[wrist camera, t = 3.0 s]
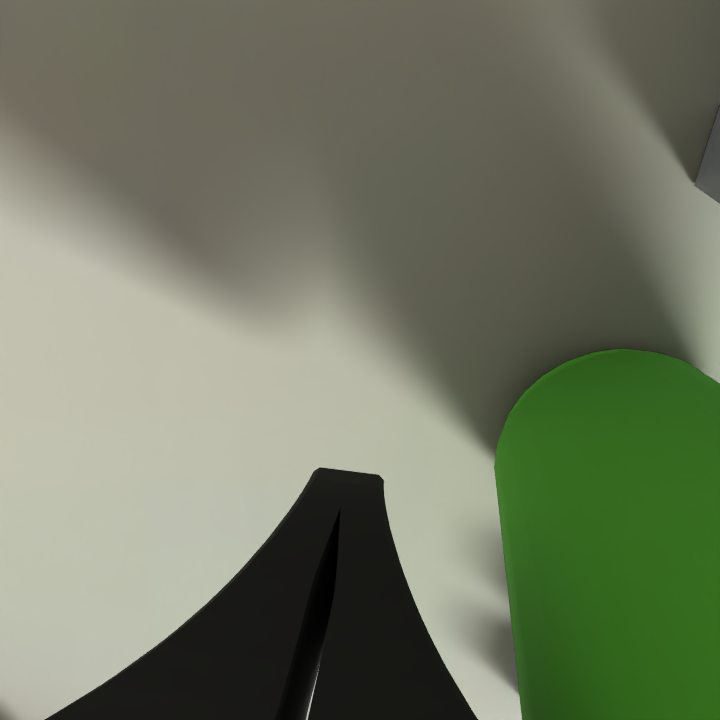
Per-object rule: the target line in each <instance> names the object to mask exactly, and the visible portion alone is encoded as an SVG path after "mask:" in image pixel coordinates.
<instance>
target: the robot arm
mask: <svg viewBox="0 0 720 720" xmlns="http://www.w3.org/2000/svg"><path fill="white" fill-rule="evenodd" d="M319 665H320V666H319ZM318 669H319V671H318ZM317 673H318V676H317ZM316 677H317V680H316ZM315 680H316V685H315V689H314V694H313V698H312V703H311V708H310V712H309V717H308V720H478V719H477V717H476V716H475V714H474V713H473V711H472V710H471V708H470V706H469V705H468V703H467V701H466V700H465V698H464V696H463V695H462V693H461V691H460V690H459V688H458V686H457V685H456V683H455V681H454V680H453V678H452V676H451V674H450V673H449V671H448V669H447V668H446V666H445V664H444V662H443V660H442V658H441V656H440V655H439V653H438V651H437V649H436V647H435V645H434V643H433V641H432V639H431V637H430V635H429V633H428V631H427V628H426V626H425V624H424V622H423V620H422V618H421V615H420V613H419V611H418V609H417V606H416V604H415V601H414V599H413V597H412V594H411V591H410V589H409V586H408V583H407V581H406V578H405V575H404V573H403V570H402V567H401V564H400V561H399V557H398V554H397V551H396V547H395V544H394V541H393V537H392V534H391V530H390V526H389V521H388V516H387V512H386V506H385V499H384V480H383V479H382V478H381V477H380V476H379V475H376V474H368V473H360V472H352V471H344V470H336V469H328V468H318V469H317V470H315V471H314V472H313V474H312V476H311V478H310V480H309V481H308V483H307V485H306V486H305V488H304V490H303V491H302V493H301V494H300V496H299V497H298V499H297V500H296V502H295V503H294V505H293V506H292V508H291V509H290V510H289V512H288V513H287V515H286V516H285V517H284V518H283V520H282V521H281V522H280V524H279V525H278V526H277V528H276V529H275V530H274V531H273V533H272V534H271V535H270V537H269V538H268V539H267V540H266V542H265V543H264V544H263V545H262V546H261V547H260V548H259V550H258V551H257V552H256V553H255V554H254V555H253V556H252V558H251V559H250V560H249V561H248V562H247V563H246V564H245V566H244V567H243V568H242V569H241V570H240V571H239V572H238V573H237V574H236V575H235V576H234V577H233V578H232V579H231V580H230V581H229V583H228V584H226V585H225V586H224V587H223V588H222V589H221V590H220V591H219V592H218V593H217V594H216V595H215V596H214V597H213V598H212V599H211V600H210V601H209V602H208V603H207V604H206V605H205V606H203V607H202V608H201V609H200V610H199V611H198V612H197V613H195V614H194V615H193V616H192V617H191V618H190V619H189V620H187V621H186V622H185V623H184V624H183V625H182V626H180V627H179V628H178V629H177V630H176V631H174V632H173V633H172V634H171V635H170V636H168V637H167V638H166V639H165V640H163V641H162V642H161V643H159V644H158V645H157V646H155V647H154V648H153V649H151V650H150V651H149V652H147V653H146V654H144V655H143V656H142V657H140V658H139V659H138V660H136V661H135V662H133V663H132V664H131V665H129V666H128V667H127V668H125V669H124V670H122V671H121V672H120V673H118V674H117V675H115V676H114V677H112V678H111V679H109V680H108V681H107V682H105V683H104V684H102V685H100V686H99V687H97V688H96V689H94V690H92V691H91V692H89V693H87V694H86V695H84V696H83V697H81V698H79V699H78V700H76V701H75V702H73V703H71V704H70V705H68V706H66V707H65V708H63V709H62V710H60V711H58V712H57V713H55V714H53V715H52V716H50V717H48V718H47V719H45V720H306V716H307V712H308V707H309V703H310V699H311V696H312V692H313V688H314V684H315Z"/></svg>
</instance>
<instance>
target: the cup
mask: <svg viewBox="0 0 720 720" xmlns="http://www.w3.org/2000/svg"><path fill="white" fill-rule="evenodd" d="M494 469H495V478H496V487H497V496H498V505H499V514H500V523H501V532H502V541H503V550H504V559H505V568H506V577H507V586H508V595H509V604H510V613H511V623H512V632H513V641H514V650H515V659H516V668H517V677H518V686H519V695H520V704H521V713H522V720H720V383H718V382H717V381H715V380H713V379H712V378H710V377H709V376H707V375H705V374H704V373H702V372H701V371H699V370H698V369H696V368H694V367H693V366H691V365H690V364H688V363H687V362H685V361H683V360H680V359H677V358H674V357H671V356H668V355H665V354H662V353H658V352H647V351H642V350H629V349H614V350H606V351H599V352H592V353H590V354H587V355H584V356H581V357H578V358H575V359H572V360H570V361H567V362H565V363H563V364H562V365H560V366H558V367H556V368H555V369H553V370H551V371H550V372H548V373H546V374H544V375H543V376H542V377H541V378H540V379H538V380H537V381H536V382H535V383H534V384H533V385H532V386H531V387H529V388H528V389H527V390H526V391H525V392H524V393H523V394H522V396H521V397H520V398H519V400H518V401H517V403H516V404H515V405H514V407H513V408H512V410H511V411H510V412H509V415H508V417H507V420H506V422H505V425H504V427H503V430H502V432H501V435H500V438H499V440H498V443H497V447H496V456H495V466H494Z"/></svg>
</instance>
